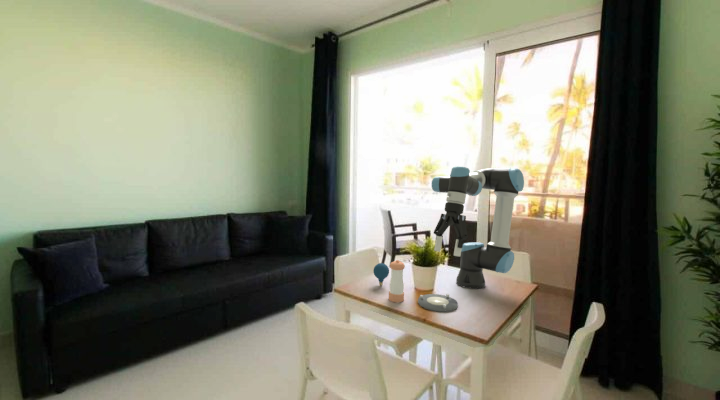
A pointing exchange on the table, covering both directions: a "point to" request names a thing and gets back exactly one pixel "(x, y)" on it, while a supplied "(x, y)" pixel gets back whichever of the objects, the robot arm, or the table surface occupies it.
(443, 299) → the stud plate
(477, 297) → the table surface
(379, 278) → the light bulb
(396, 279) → the pepper shaker
